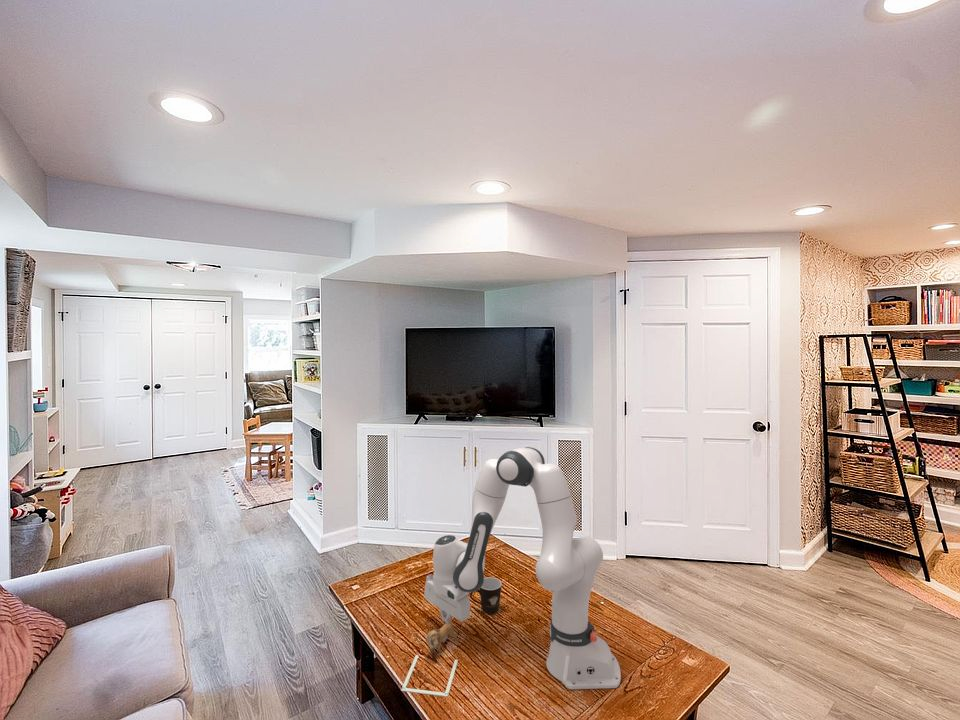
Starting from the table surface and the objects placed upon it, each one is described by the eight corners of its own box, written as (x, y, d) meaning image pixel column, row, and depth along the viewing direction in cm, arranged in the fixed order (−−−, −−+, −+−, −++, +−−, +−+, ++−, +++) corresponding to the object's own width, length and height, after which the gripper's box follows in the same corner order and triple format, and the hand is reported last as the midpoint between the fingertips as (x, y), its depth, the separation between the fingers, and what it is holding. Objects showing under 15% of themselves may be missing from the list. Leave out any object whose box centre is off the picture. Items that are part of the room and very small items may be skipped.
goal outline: (458, 660, 144) (458, 659, 144) (447, 696, 129) (447, 696, 129) (415, 655, 146) (415, 654, 146) (400, 690, 131) (400, 690, 131)
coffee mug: (502, 602, 174) (502, 577, 173) (501, 616, 165) (501, 590, 165) (472, 601, 175) (472, 576, 175) (469, 615, 167) (469, 589, 166)
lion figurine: (436, 665, 142) (435, 637, 141) (422, 659, 144) (422, 632, 144) (460, 637, 155) (460, 612, 154) (447, 632, 157) (446, 607, 157)
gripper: (420, 575, 161) (420, 612, 162) (459, 598, 147) (460, 639, 148) (433, 569, 166) (433, 605, 167) (473, 590, 152) (473, 629, 153)
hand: (446, 621), depth 157 cm, fingers closed
